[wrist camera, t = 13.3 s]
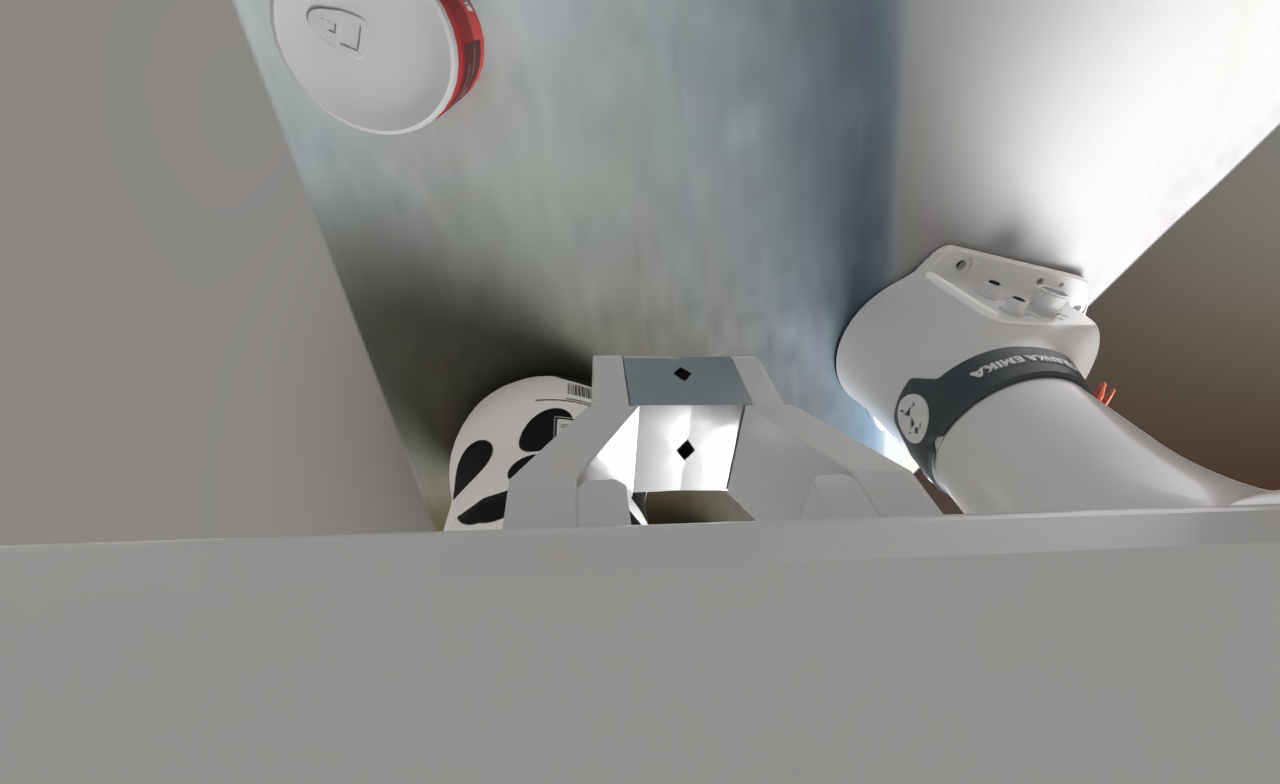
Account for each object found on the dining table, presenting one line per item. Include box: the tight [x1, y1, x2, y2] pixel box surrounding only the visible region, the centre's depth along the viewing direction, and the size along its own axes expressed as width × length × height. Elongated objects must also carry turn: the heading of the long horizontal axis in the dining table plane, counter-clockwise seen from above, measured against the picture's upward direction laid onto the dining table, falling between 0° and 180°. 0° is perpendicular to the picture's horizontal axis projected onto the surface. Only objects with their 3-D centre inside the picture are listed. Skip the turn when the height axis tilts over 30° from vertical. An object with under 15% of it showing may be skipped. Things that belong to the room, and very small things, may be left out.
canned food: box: [270, 0, 484, 135], centre depth 30 cm, size 8×8×11 cm
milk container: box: [444, 376, 649, 531], centre depth 46 cm, size 17×17×18 cm
